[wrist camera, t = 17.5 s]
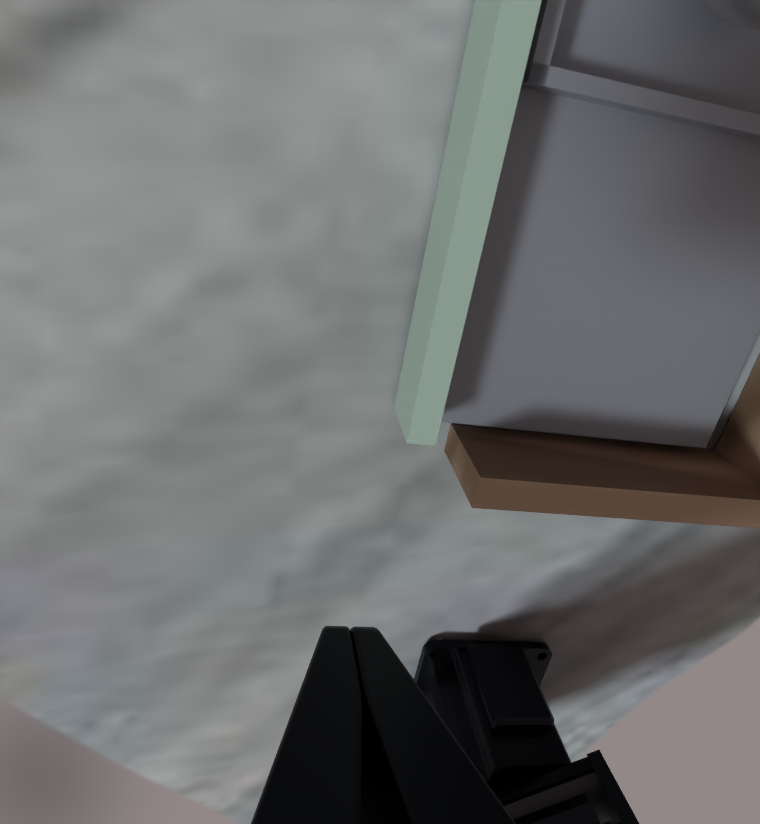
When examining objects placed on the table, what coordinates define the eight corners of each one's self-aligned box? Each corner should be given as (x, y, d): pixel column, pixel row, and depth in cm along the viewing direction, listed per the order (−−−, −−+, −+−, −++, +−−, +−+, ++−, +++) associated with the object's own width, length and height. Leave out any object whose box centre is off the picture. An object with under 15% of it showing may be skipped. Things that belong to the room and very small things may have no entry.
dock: (726, 475, 25) (798, 530, 22) (444, 450, 23) (471, 507, 19) (1124, -341, 15) (1382, -491, 12) (691, -551, 13) (848, -826, 9)
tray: (693, 439, 24) (739, 473, 21) (394, 408, 21) (406, 443, 19) (1017, -290, 15) (1161, -376, 13) (571, -486, 13) (639, -641, 10)
